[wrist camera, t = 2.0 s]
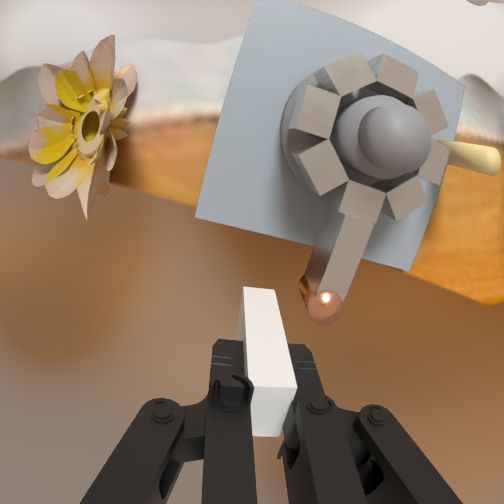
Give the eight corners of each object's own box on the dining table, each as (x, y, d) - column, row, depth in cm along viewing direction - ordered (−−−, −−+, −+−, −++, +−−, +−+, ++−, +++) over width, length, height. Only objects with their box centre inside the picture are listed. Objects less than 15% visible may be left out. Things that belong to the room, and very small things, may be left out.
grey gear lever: (311, 41, 19) (327, 23, 15) (438, 100, 21) (468, 98, 17) (242, 284, 27) (243, 311, 22) (366, 308, 28) (383, 334, 24)
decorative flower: (59, 34, 19) (17, 17, 11) (162, 53, 24) (158, 35, 15) (25, 173, 25) (-20, 209, 17) (118, 194, 29) (99, 237, 21)
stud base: (258, -1, 21) (270, -62, 11) (456, 86, 24) (527, 82, 14) (196, 213, 29) (175, 258, 18) (402, 265, 32) (456, 316, 22)
